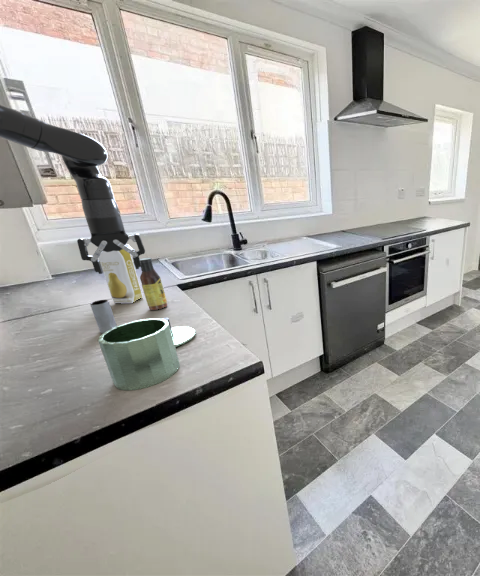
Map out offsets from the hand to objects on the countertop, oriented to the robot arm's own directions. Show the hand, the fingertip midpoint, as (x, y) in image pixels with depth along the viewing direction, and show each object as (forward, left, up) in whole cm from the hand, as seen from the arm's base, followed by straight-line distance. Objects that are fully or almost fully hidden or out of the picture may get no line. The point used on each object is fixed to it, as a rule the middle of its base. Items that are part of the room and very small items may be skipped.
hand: (120, 270), depth 92 cm
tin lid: (+7, -9, -21) cm, 24 cm away
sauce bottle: (+5, +26, -22) cm, 34 cm away
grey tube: (-9, +12, -22) cm, 26 cm away
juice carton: (-5, +43, -22) cm, 48 cm away
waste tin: (+2, -27, -22) cm, 35 cm away
